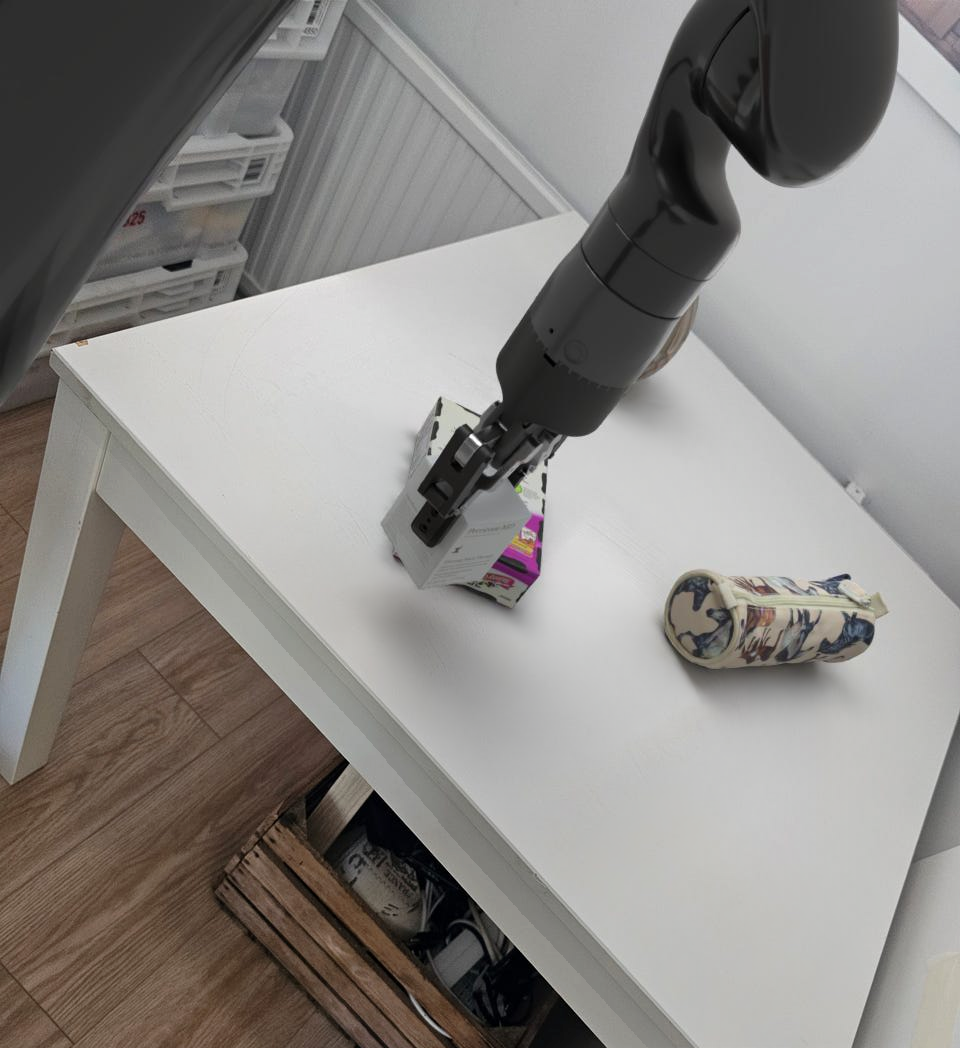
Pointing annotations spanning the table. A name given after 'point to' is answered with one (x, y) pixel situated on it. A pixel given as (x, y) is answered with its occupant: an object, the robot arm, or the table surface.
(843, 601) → the pencil case
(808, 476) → the table surface
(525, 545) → the candy bar box
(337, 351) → the table surface
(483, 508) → the product box
